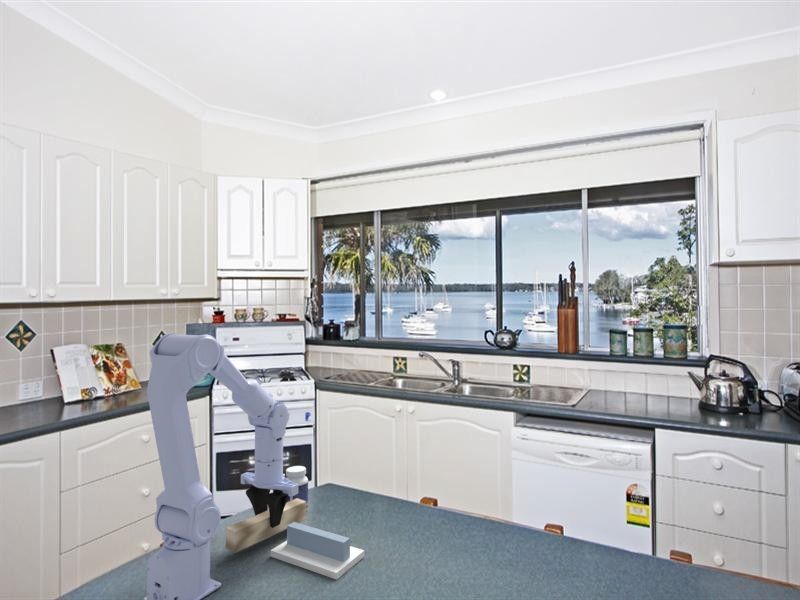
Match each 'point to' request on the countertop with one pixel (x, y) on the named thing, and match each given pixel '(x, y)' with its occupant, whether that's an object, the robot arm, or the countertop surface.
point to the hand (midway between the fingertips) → (268, 523)
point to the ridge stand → (317, 550)
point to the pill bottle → (298, 482)
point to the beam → (263, 526)
